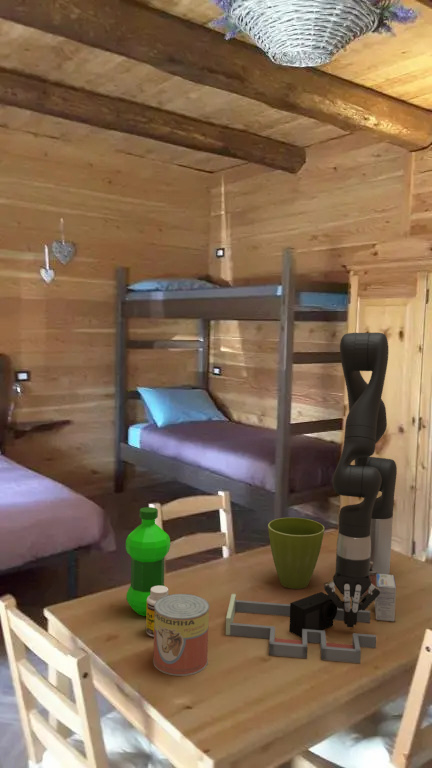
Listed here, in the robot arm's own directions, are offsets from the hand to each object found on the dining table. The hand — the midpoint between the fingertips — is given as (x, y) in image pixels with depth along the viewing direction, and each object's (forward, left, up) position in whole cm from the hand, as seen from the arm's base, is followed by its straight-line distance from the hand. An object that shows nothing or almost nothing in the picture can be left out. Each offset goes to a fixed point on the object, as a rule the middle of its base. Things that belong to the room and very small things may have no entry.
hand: (349, 625), depth 149 cm
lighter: (-20, +4, -2) cm, 21 cm away
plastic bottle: (-2, -48, -2) cm, 48 cm away
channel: (+3, -11, -2) cm, 12 cm away
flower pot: (-25, -13, -2) cm, 28 cm away
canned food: (+19, -36, -2) cm, 41 cm away
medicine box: (-11, +9, -2) cm, 15 cm away
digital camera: (0, -8, -2) cm, 8 cm away
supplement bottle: (+8, -43, -2) cm, 44 cm away
